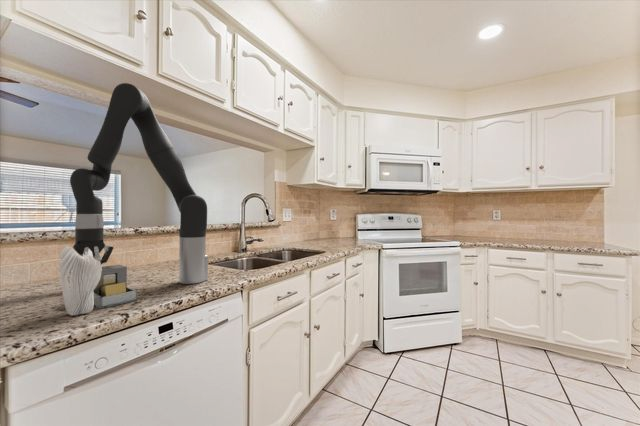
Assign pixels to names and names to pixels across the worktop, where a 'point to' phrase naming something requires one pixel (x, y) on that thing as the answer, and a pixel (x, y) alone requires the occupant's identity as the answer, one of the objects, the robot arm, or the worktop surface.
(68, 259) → the shell sculpture
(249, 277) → the worktop surface
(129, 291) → the grey tray with arch
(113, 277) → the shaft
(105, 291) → the yellow block
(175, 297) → the worktop surface
